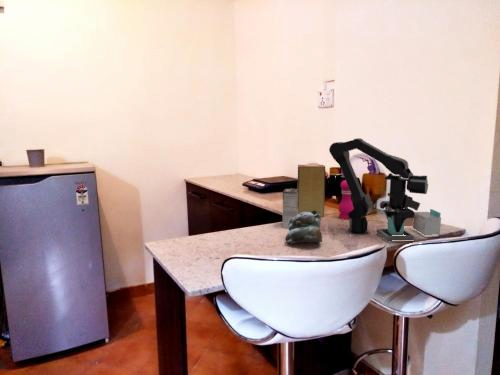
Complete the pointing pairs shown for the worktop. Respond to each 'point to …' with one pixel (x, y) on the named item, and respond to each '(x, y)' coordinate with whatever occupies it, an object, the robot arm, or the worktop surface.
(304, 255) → the worktop surface
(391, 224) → the teal block
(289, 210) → the coffee box
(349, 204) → the pepper mill
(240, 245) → the worktop surface
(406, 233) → the parts tray
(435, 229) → the panel
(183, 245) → the worktop surface
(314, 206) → the food packaging
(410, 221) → the terracotta block
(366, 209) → the robot arm
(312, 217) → the grey-green lumpy figure
